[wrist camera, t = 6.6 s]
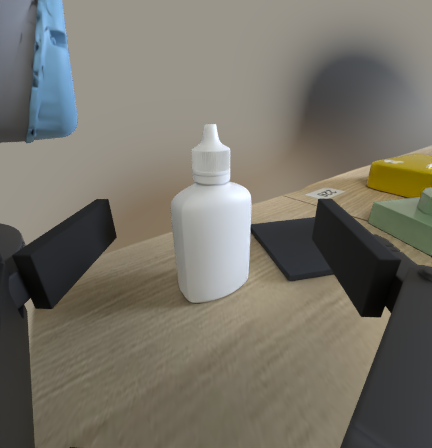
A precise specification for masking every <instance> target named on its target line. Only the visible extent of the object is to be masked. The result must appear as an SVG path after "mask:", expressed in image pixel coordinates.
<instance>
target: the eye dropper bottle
mask: <svg viewBox="0 0 432 448" xmlns="http://www.w3.org/2000/svg"><path fill="white" fill-rule="evenodd" d="M191 154H192V170H193V181H195V183H194V184H193V185H191V186H189V187H187V188H185V189H184V190H182V191H181V192H179V193H178V194H177V195H176V196H175V197H174V198H173V200H172V202H171V216H172V228H173V238H174V247H175V257H176V266H177V275H178V284H179V289H180V290H181V292H182V293H183V295H184V296H185V297H186V299H187V300H188V301H190V302H192V303H201V302H208V301H212V300H216V299H219V298H222V297H225V296H227V295H229V294H231V293H233V292H234V291H236V290H237V289H238V288H240V287H241V286H242V285H243V284H244V283H245V282H246V281H247V279H248V274H249V253H250V229H251V195H250V193H249V191H248V190H247V189H245V188H244V187H243V186H241V185H239V184H236V183H233V182H229V180H230V148H228V147H227V146H225V145H223V144H221V142H220V141H219V138H218V133H217V128H216V124H205V125H204V130H203V137H202V142H201V143H200V144H199V145H198V146H196V147H195V148H193V149H192V150H191Z"/></svg>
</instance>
